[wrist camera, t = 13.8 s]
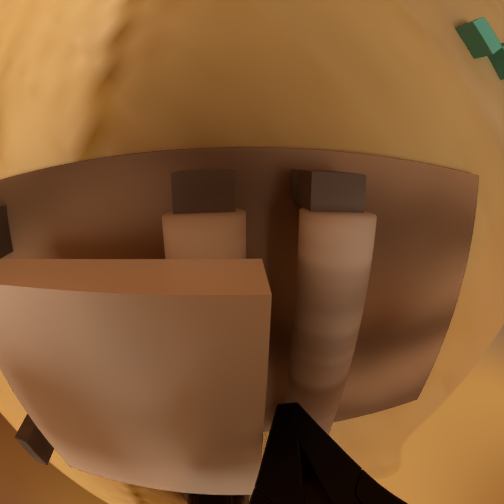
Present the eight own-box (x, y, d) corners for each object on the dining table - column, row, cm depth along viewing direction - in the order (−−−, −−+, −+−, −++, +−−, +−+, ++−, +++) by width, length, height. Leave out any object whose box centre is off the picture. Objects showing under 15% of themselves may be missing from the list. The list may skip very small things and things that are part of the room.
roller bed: (413, 394, 16) (449, 448, 11) (57, 406, 14) (29, 463, 8) (471, 174, 11) (554, 193, 6) (-14, 185, 9) (-91, 208, 4)
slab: (254, 460, 10) (257, 494, 8) (81, 439, 10) (70, 466, 8) (261, 258, 7) (271, 294, 5) (0, 258, 7) (-35, 280, 5)
